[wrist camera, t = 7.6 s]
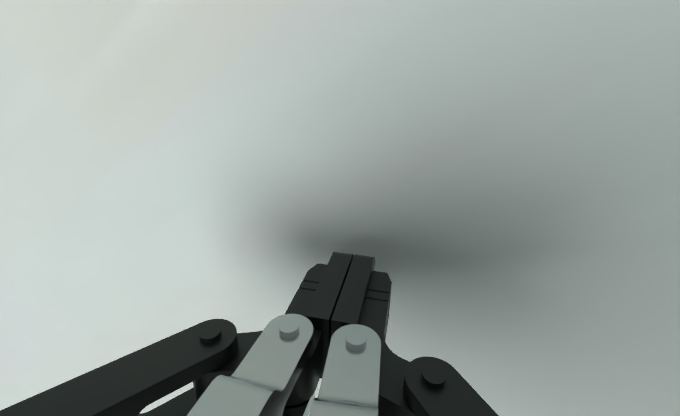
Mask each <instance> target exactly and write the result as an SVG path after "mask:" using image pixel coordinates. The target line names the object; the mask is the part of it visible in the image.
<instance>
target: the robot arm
mask: <svg viewBox="0 0 680 416" xmlns="http://www.w3.org/2000/svg"><path fill="white" fill-rule="evenodd" d="M374 264H375V258H374V257H369V256H362V255H353V254H345V253H338V252H333V254H332V256H331V258H330V260H329V263H328V265H325V264H317V265H315V266H314V267H312V268H311V269H310V270H308V272H307V274H306V276H305V278H304V279H303V281H302V283H301V285H300V287H299V289H298V291H297V292H296V294H295V296H294V298H293V300H292V302H291V304H290V305H289V307H288V309H287V311H286V313H285V314H284V315H281V316H278V317H276V318H274V319H273V320H271V321H270V322H269V323H268V325H267V326H266V327H265V329H264V330H263V331H259V332H249V333H237V331H236V327H235V325H234V324H233V323H231V322H230V321H228V320H224V319H212V320H207V321H204V322H202V323H199V324H197V325H195V326H193V327H190V328H188V329H186V330H183V331H181V332H179V333H177V334H174V335H172V336H170V337H167V338H165V339H163V340H161V341H158V342H156V343H154V344H151V345H149V346H147V347H145V348H142V349H140V350H138V351H136V352H133V353H131V354H129V355H126V356H124V357H122V358H120V359H117V360H115V361H113V362H110V363H108V364H106V365H104V366H101V367H99V368H97V369H94V370H92V371H90V372H88V373H85V374H83V375H81V376H78V377H76V378H74V379H72V380H69V381H67V382H65V383H62V384H60V385H58V386H56V387H53V388H51V389H49V390H46V391H44V392H42V393H40V394H37V395H35V396H33V397H30V398H28V399H26V400H24V401H21V402H19V403H17V404H14V405H12V406H10V407H8V408H5V409H3V410H1V411H0V416H308V415H309V416H498V415H497V414H496V413H495V412H494V410H493V409H492V408H491V407H490V406H489V405H488V404H487V403H486V402H485V401H484V400H483V399H482V398H481V397H480V395H479V394H478V393H477V392H476V391H475V390H474V389H473V388H472V387H471V386H470V385H469V384H468V383H467V381H466V380H465V379H464V378H463V377H462V376H461V375H460V374H459V373H458V372H457V371H456V370H455V369H454V368H453V367H452V366H451V365H450V364H448V363H447V362H445V361H443V360H441V359H438V358H434V357H420V358H416V359H414V360H413V361H411V362H408V361H406V360H404V359H402V358H400V357H398V356H397V355H395V354H394V353H393V352H392V351H391V350H390V349H389V348H388V346H387V345H386V343H385V339H386V332H387V325H388V318H389V307H390V296H391V284H392V282H391V280H390V278H389V276H388V274H387V273H385V272H377V271H374ZM319 378H322V381H321V386H320V390H319V395H318V398H315V390H316V387H317V384H318V381H319ZM191 382H193V385H194V388H192V389H190V390H188V391H186V392H184V393H182V394H181V395H179V396H177V397H175V398H173V399H171V400H169V401H168V402H166V403H164V404H162V405H160V406H158V407H156V408H155V409H153V410H151V411H149V412H146V413H143V414H139V413H140V412H141V410H142V409H143V408H145V407H146V406H147V405H149V404H151V403H153V402H155V401H156V400H158V399H160V398H162V397H164V396H166V395H168V394H170V393H172V392H174V391H175V390H177V389H179V388H181V387H183V386H185V385H187V384H189V383H191Z"/></svg>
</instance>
